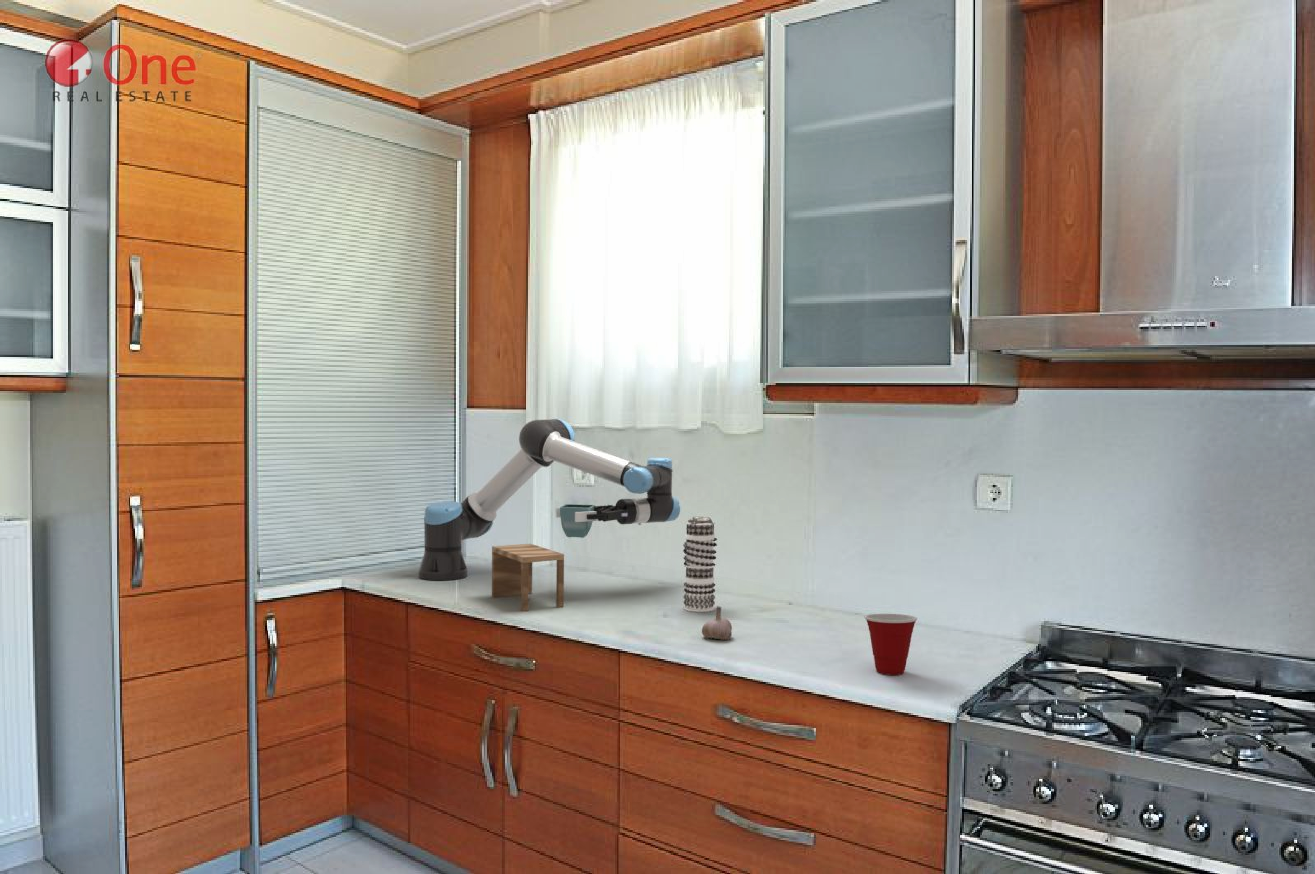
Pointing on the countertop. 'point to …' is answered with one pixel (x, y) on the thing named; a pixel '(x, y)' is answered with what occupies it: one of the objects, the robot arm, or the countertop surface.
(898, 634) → the plastic cup
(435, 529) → the robot arm
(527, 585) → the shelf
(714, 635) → the garlic bulb
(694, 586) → the decorative candle
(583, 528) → the flower pot
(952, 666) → the countertop surface
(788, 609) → the countertop surface
